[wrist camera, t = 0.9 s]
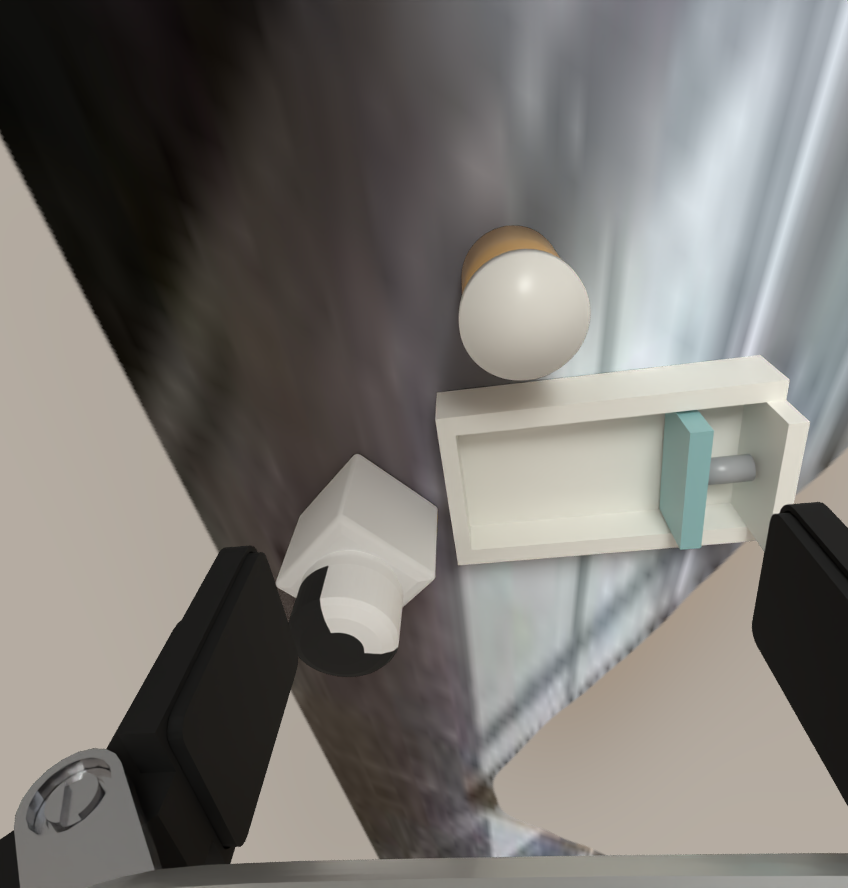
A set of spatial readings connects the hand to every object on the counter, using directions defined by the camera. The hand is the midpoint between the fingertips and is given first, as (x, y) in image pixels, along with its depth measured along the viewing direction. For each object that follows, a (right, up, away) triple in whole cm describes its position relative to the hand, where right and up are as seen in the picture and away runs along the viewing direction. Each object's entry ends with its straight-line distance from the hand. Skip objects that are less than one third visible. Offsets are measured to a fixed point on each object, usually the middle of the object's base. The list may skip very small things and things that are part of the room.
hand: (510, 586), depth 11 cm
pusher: (+15, +2, +25) cm, 30 cm away
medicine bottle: (-5, -2, +30) cm, 31 cm away
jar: (+3, +12, +22) cm, 25 cm away
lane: (+9, +2, +27) cm, 29 cm away
